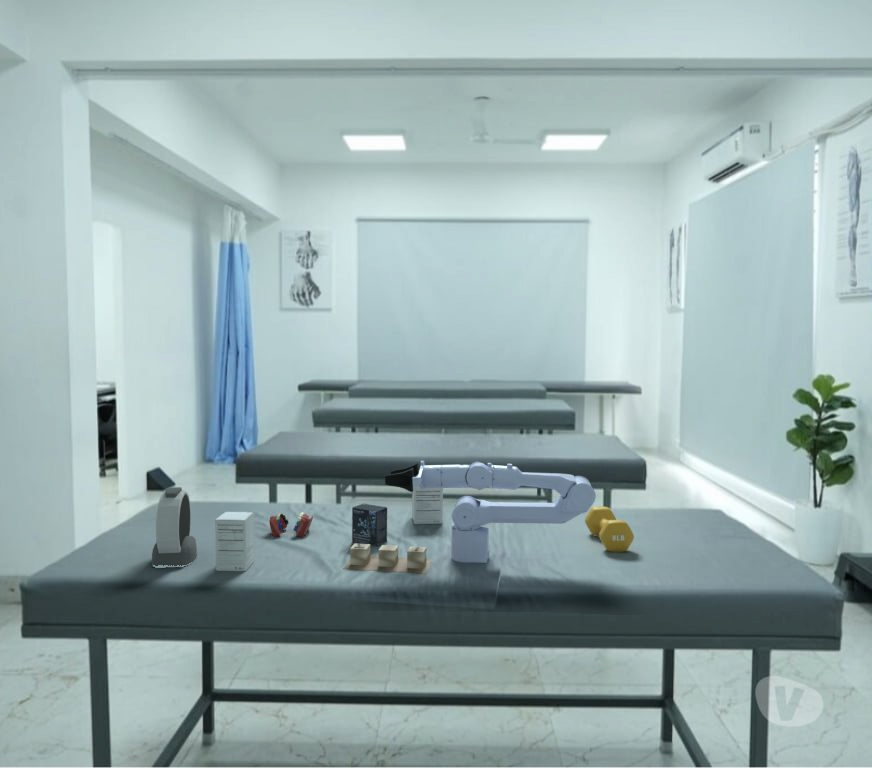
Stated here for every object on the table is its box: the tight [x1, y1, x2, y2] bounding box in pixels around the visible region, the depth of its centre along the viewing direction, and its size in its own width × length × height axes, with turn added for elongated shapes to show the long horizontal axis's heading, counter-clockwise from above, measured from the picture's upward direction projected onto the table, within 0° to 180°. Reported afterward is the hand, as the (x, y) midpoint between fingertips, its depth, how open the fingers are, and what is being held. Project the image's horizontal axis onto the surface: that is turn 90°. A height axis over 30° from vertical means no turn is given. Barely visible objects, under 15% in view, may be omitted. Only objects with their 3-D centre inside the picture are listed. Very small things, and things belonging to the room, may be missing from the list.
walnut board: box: [342, 555, 433, 574], centre depth 164 cm, size 20×10×1 cm, turn 81°
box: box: [351, 503, 388, 548], centre depth 182 cm, size 8×6×11 cm
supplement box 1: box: [214, 511, 255, 572], centre depth 164 cm, size 7×7×13 cm
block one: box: [406, 546, 427, 569], centre depth 163 cm, size 4×4×4 cm
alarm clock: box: [151, 486, 198, 566], centre depth 169 cm, size 16×10×18 cm, turn 9°
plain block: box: [378, 544, 399, 567], centre depth 164 cm, size 4×4×4 cm
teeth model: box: [269, 511, 314, 538], centre depth 193 cm, size 8×6×12 cm
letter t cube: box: [349, 543, 371, 565], centre depth 165 cm, size 4×4×4 cm
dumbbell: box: [584, 506, 635, 553], centre depth 186 cm, size 19×9×8 cm, turn 2°
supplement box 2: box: [411, 486, 444, 525], centre depth 208 cm, size 9×9×15 cm
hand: (388, 477), depth 170 cm, fingers open, 7 cm apart
